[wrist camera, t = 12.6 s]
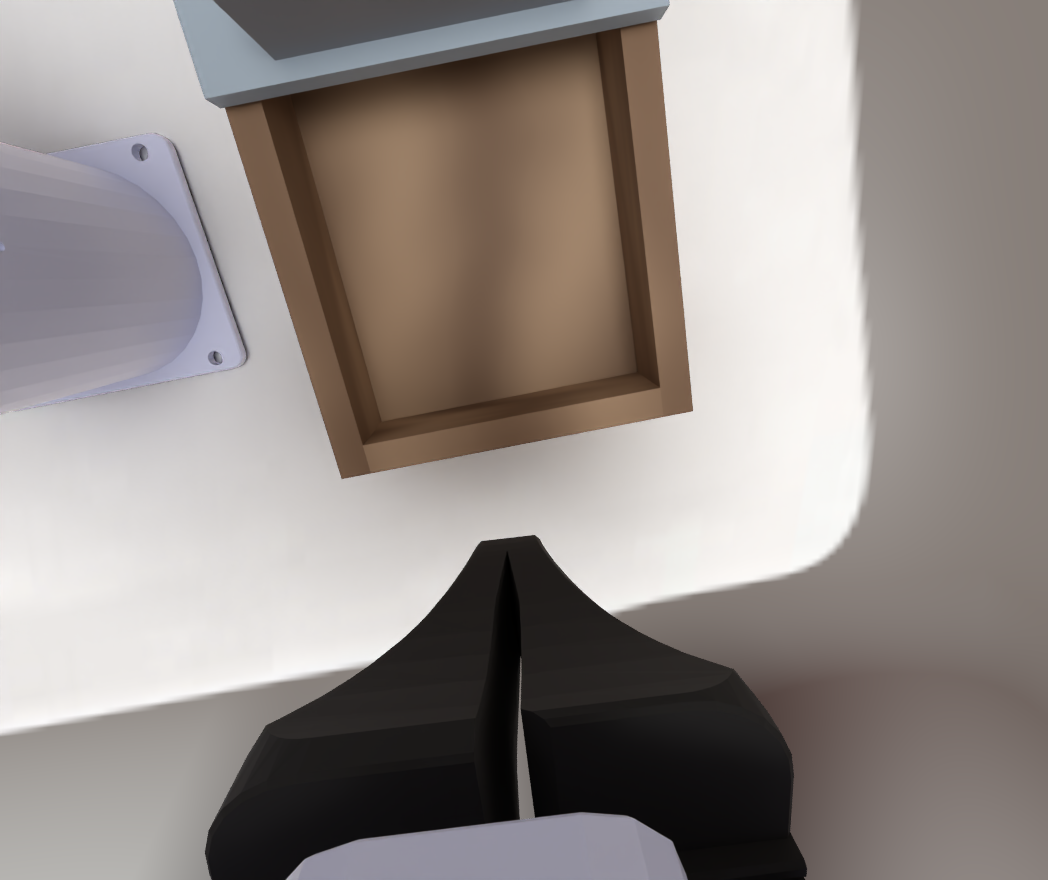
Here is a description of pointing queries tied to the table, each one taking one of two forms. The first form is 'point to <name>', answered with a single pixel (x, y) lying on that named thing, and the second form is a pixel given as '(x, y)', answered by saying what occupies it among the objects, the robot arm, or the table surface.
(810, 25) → the table surface
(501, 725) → the robot arm
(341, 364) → the brown wooden shallow box
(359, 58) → the lid
